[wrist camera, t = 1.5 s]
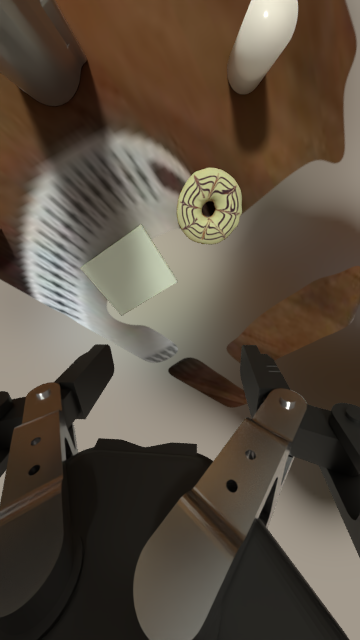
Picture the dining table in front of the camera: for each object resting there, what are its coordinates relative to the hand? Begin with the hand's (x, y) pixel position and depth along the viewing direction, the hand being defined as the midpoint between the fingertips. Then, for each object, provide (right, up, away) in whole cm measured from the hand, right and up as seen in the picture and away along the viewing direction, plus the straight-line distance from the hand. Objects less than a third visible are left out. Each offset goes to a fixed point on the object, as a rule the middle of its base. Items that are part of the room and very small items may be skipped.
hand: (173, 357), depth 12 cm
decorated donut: (+5, +21, +23) cm, 32 cm away
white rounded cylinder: (+9, +36, +15) cm, 40 cm away
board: (-9, +11, +27) cm, 31 cm away
